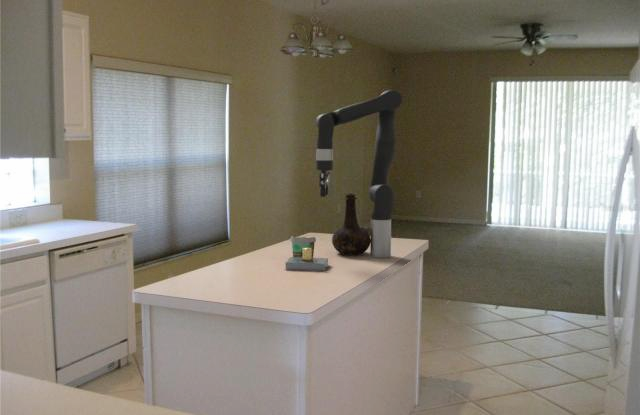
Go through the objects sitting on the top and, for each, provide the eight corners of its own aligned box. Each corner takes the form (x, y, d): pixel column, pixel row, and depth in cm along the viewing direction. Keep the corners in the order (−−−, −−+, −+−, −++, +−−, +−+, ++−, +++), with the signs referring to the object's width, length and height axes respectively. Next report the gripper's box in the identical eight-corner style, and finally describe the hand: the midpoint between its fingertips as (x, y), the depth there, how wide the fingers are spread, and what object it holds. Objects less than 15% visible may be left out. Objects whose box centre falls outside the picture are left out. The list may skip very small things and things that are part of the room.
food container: (285, 258, 285) (285, 236, 284) (292, 256, 291) (292, 234, 289) (309, 261, 279) (309, 238, 278) (315, 259, 285) (316, 236, 284)
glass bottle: (376, 255, 294) (377, 195, 291) (341, 258, 287) (341, 196, 284) (360, 249, 310) (360, 192, 307) (326, 251, 304) (326, 193, 301)
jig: (328, 265, 271) (328, 258, 271) (324, 270, 259) (324, 263, 259) (291, 263, 273) (291, 257, 273) (285, 269, 262) (285, 262, 261)
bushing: (312, 266, 268) (312, 247, 267) (311, 268, 264) (311, 249, 263) (303, 266, 269) (303, 247, 268) (301, 268, 265) (301, 249, 264)
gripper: (330, 160, 275) (330, 197, 277) (334, 158, 289) (334, 194, 291) (313, 159, 276) (313, 197, 278) (318, 158, 290) (318, 194, 292)
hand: (324, 195), depth 284 cm, fingers open, 8 cm apart
